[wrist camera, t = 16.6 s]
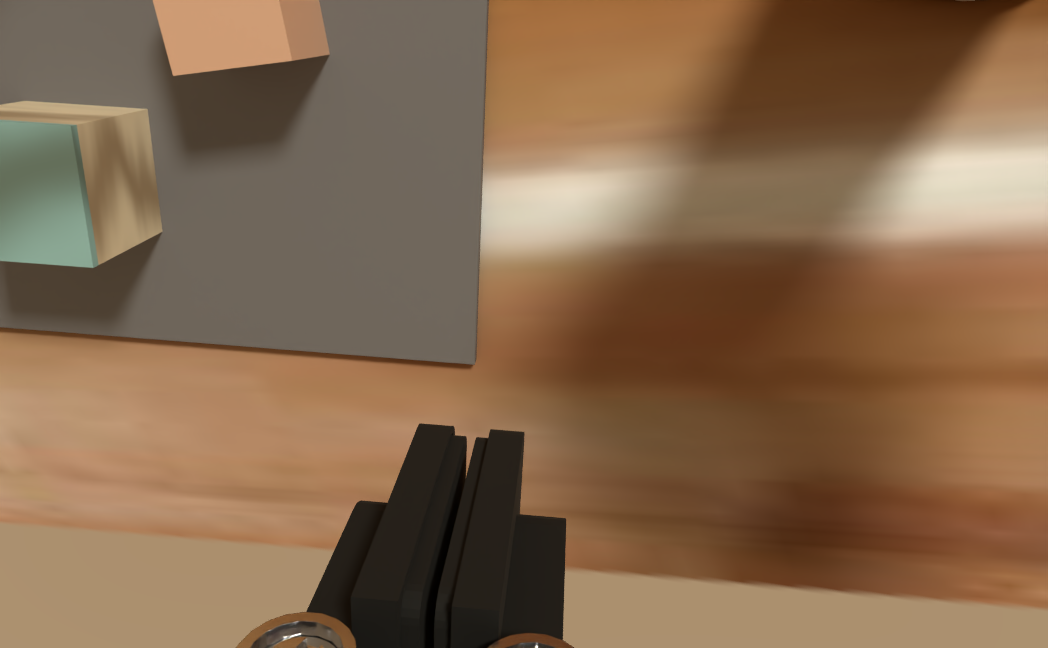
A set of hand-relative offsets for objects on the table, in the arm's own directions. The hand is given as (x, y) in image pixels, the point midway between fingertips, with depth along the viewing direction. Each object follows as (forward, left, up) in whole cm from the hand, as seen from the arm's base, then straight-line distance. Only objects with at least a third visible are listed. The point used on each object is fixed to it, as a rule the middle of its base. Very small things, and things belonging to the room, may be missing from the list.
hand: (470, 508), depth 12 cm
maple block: (+1, -22, -20) cm, 30 cm away
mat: (+1, -17, -27) cm, 32 cm away
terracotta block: (-7, -13, -26) cm, 30 cm away
